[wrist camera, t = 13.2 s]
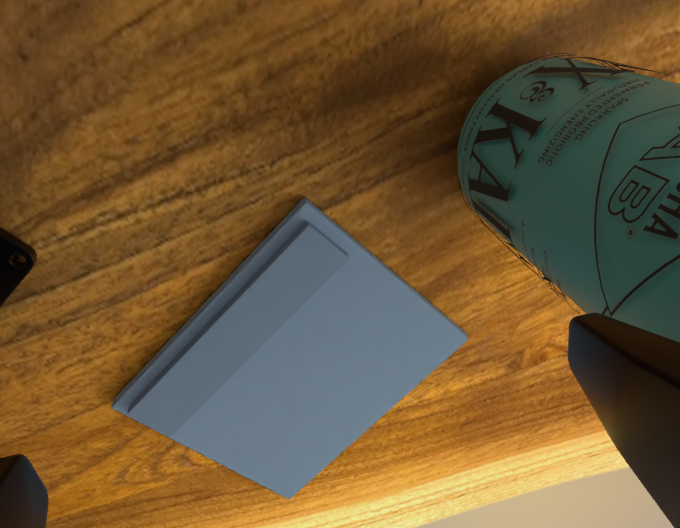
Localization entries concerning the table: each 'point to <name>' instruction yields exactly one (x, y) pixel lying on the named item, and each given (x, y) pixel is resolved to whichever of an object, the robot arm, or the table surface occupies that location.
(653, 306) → the beverage bottle
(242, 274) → the grey-blue flat slab
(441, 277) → the table surface
